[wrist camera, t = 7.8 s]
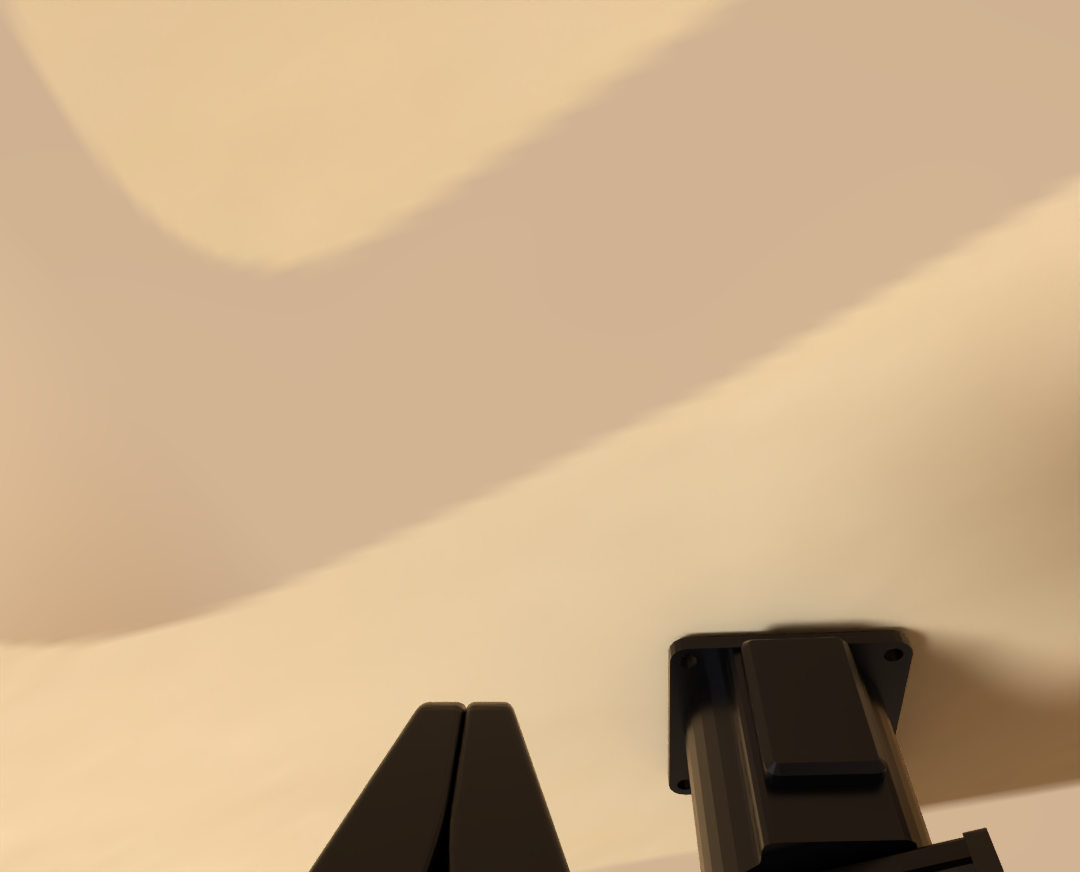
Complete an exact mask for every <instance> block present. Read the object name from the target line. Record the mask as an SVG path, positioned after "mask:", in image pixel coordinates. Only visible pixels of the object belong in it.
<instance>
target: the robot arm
mask: <svg viewBox="0 0 1080 872" xmlns="http://www.w3.org/2000/svg"><path fill="white" fill-rule="evenodd" d="M894 648H895V649H894ZM890 649H892V650H890ZM686 655H692V656H688V657H684V656H686ZM912 655H913V652H912V647H911V645H910V642H909V640H908V638H907V636H906V635H905V634H903V633H901V632H898V631H873V632H844V633H814V634H784V635H755V636H725V637H695V638H683V639H679V640H677V641H675V642H673V644H672V645H671V646H670V648H669V667H668V779H669V786H670V789H671V790H672V791H673V792H675V793H678V794H684V795H689V794H692V802H693V810H694V818H695V826H696V835H697V843H698V851H699V859H700V867H701V872H1004V871H1003V868H1002V866H1001V863H1000V861H999V858H998V856H997V853H996V851H995V849H994V846H993V843H992V841H991V838H990V836H989V833H988V831H987V829H986V828H982V829H978V830H974V831H969V832H965V833H963V836H964V837H963V838H958V839H954V840H950V841H946V842H941V843H937V844H932V843H931V840H930V837H929V834H928V831H927V828H926V825H925V822H924V820H923V816H922V813H921V810H920V808H919V805H918V802H917V799H916V796H915V793H914V790H913V787H912V784H911V781H910V778H909V775H908V772H907V769H906V766H905V764H904V761H903V758H902V755H901V752H900V749H899V746H898V743H897V740H896V737H895V734H896V729H897V724H898V720H899V715H900V711H901V706H902V701H903V697H904V692H905V687H906V683H907V678H908V674H909V669H910V664H911V660H912ZM309 872H570V870H569V868H568V865H567V862H566V859H565V856H564V853H563V850H562V847H561V845H560V842H559V839H558V836H557V833H556V830H555V827H554V824H553V821H552V819H551V816H550V813H549V810H548V807H547V804H546V801H545V798H544V796H543V793H542V790H541V787H540V784H539V781H538V778H537V775H536V772H535V770H534V767H533V764H532V761H531V758H530V755H529V752H528V749H527V746H526V744H525V741H524V738H523V735H522V732H521V729H520V726H519V723H518V721H517V718H516V715H515V712H514V709H513V707H512V706H511V705H510V704H509V703H507V702H473V703H471V704H469V705H468V707H467V709H466V707H465V705H464V704H462V703H459V702H427V703H424V704H422V705H421V706H419V708H418V709H417V710H416V711H415V713H414V714H413V716H412V717H411V719H410V720H409V722H408V723H407V725H406V726H405V728H404V729H403V731H402V732H401V734H400V735H399V737H398V738H397V740H396V741H395V743H394V744H393V746H392V747H391V749H390V750H389V752H388V753H387V755H386V756H385V758H384V759H383V761H382V762H381V764H380V765H379V767H378V768H377V770H376V771H375V773H374V774H373V776H372V777H371V779H370V780H369V782H368V783H367V785H366V786H365V788H364V789H363V791H362V793H361V794H360V796H359V797H358V799H357V800H356V802H355V803H354V805H353V806H352V808H351V809H350V811H349V812H348V814H347V815H346V817H345V818H344V820H343V821H342V823H341V824H340V826H339V827H338V829H337V830H336V832H335V833H334V835H333V836H332V838H331V839H330V841H329V842H328V844H327V845H326V847H325V848H324V850H323V851H322V853H321V854H320V856H319V857H318V859H317V860H316V862H315V863H314V865H313V866H312V868H311V869H310V871H309Z"/></svg>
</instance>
